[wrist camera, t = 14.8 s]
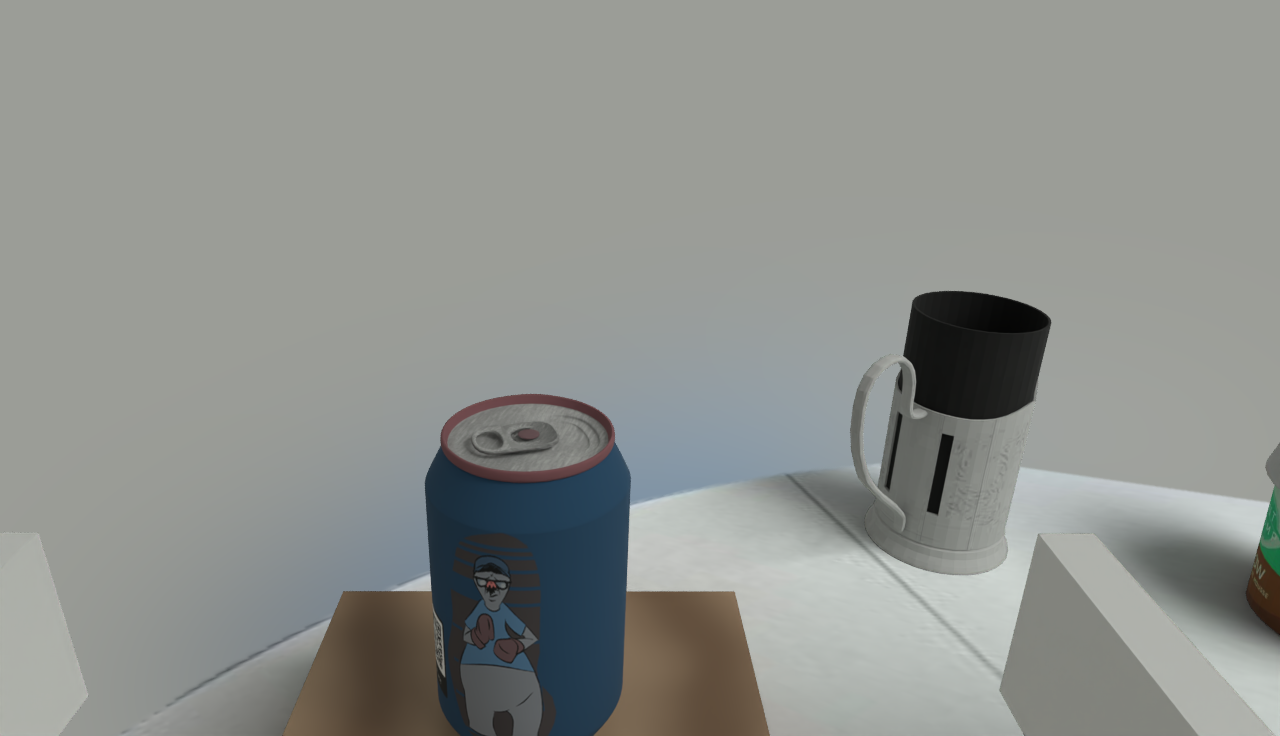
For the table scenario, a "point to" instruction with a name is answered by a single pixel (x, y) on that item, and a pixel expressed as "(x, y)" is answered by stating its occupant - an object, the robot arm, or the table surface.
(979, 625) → the table surface
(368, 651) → the block
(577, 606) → the soda can
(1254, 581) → the food container
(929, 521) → the glass holder
